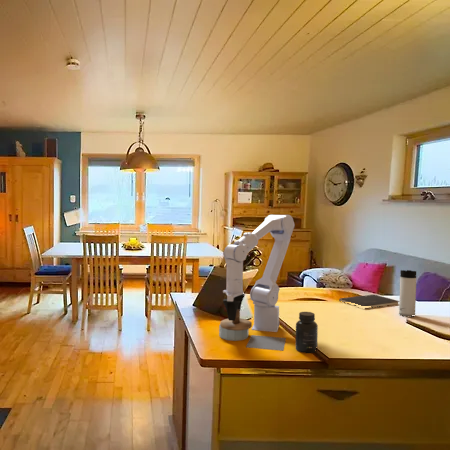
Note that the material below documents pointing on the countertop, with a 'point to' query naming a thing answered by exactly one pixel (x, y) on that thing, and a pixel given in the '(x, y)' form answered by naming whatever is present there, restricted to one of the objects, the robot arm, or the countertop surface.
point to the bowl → (233, 334)
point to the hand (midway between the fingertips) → (234, 317)
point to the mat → (266, 342)
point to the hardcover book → (370, 300)
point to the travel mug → (407, 293)
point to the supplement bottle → (306, 333)
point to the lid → (236, 323)
